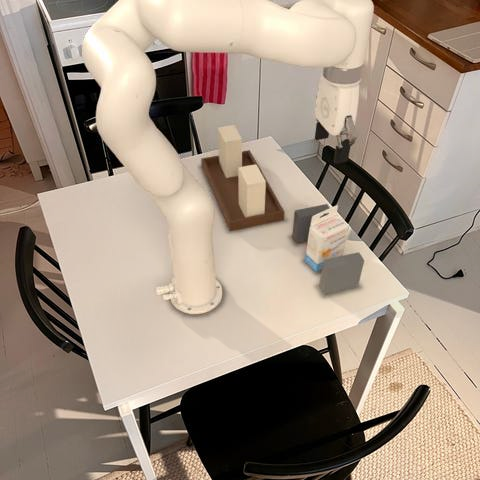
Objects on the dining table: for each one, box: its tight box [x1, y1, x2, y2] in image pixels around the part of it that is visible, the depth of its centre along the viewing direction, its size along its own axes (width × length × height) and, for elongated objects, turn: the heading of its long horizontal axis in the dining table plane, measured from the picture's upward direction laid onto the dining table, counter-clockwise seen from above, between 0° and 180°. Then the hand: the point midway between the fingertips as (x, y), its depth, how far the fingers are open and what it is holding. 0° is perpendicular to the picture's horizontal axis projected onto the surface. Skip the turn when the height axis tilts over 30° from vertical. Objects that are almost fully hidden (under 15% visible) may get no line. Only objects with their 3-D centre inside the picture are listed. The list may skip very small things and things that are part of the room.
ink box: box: [304, 204, 350, 273], centre depth 123 cm, size 8×5×15 cm, turn 123°
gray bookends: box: [291, 203, 365, 296], centre depth 126 cm, size 9×22×9 cm, turn 17°
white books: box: [217, 124, 266, 218], centre depth 142 cm, size 5×29×12 cm, turn 17°
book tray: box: [200, 149, 285, 232], centre depth 146 cm, size 16×32×3 cm, turn 17°
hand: (330, 150), depth 110 cm, fingers open, 9 cm apart
